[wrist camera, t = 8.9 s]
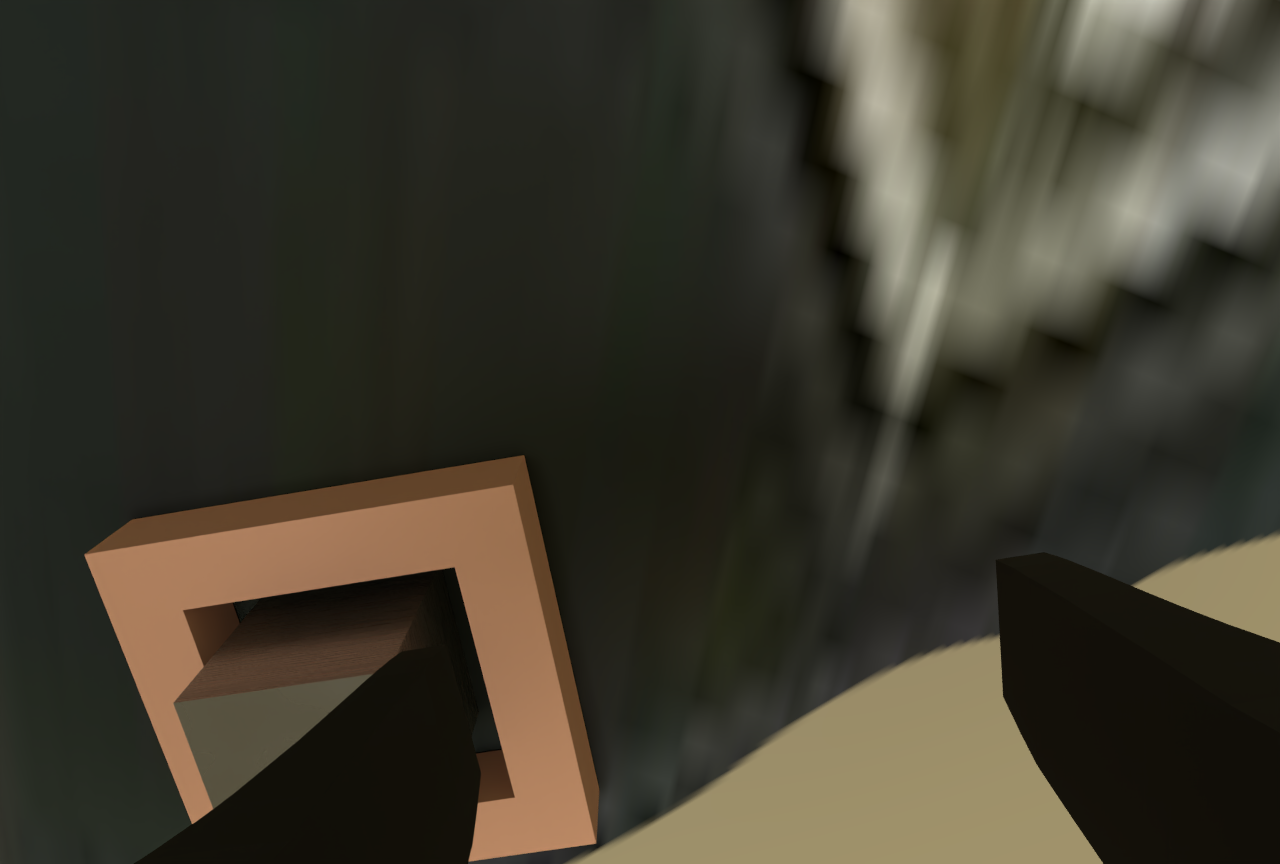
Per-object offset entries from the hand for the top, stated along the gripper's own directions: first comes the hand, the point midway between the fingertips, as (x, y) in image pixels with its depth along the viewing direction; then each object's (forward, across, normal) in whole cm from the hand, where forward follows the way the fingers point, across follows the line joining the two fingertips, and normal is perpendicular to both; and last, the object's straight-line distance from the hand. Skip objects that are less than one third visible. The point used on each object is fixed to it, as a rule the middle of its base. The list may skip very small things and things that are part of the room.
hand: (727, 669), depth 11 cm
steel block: (+10, +9, +5) cm, 15 cm away
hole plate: (+10, +9, +5) cm, 15 cm away
